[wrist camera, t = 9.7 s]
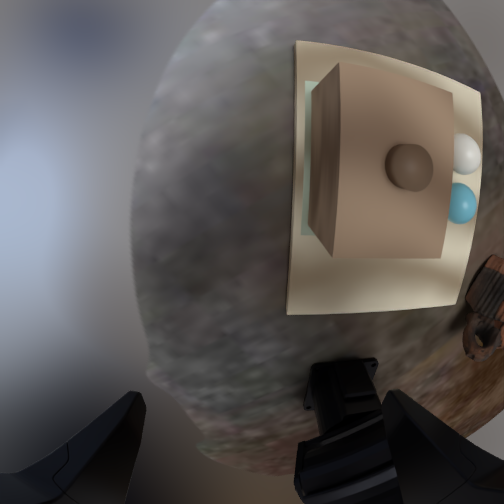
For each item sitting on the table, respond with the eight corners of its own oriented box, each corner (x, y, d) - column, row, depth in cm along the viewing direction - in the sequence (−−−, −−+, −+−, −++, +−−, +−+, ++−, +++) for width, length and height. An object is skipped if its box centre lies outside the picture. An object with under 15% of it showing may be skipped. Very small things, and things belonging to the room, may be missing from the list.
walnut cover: (392, 227, 17) (451, 265, 11) (307, 224, 17) (338, 267, 11) (398, 105, 15) (464, 90, 8) (311, 91, 15) (346, 54, 8)
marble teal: (457, 219, 17) (480, 230, 14) (430, 217, 17) (453, 228, 14) (461, 182, 16) (486, 188, 13) (434, 177, 16) (459, 182, 13)
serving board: (449, 299, 21) (455, 304, 20) (285, 307, 21) (287, 315, 20) (472, 93, 14) (480, 92, 13) (294, 45, 14) (296, 40, 13)
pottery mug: (503, 229, 19) (557, 272, 13) (485, 278, 25) (526, 314, 19) (446, 313, 18) (507, 372, 12) (431, 347, 25) (475, 392, 19)
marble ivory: (462, 175, 16) (487, 180, 13) (435, 169, 16) (460, 173, 13) (463, 138, 15) (488, 139, 12) (436, 129, 15) (461, 128, 12)
